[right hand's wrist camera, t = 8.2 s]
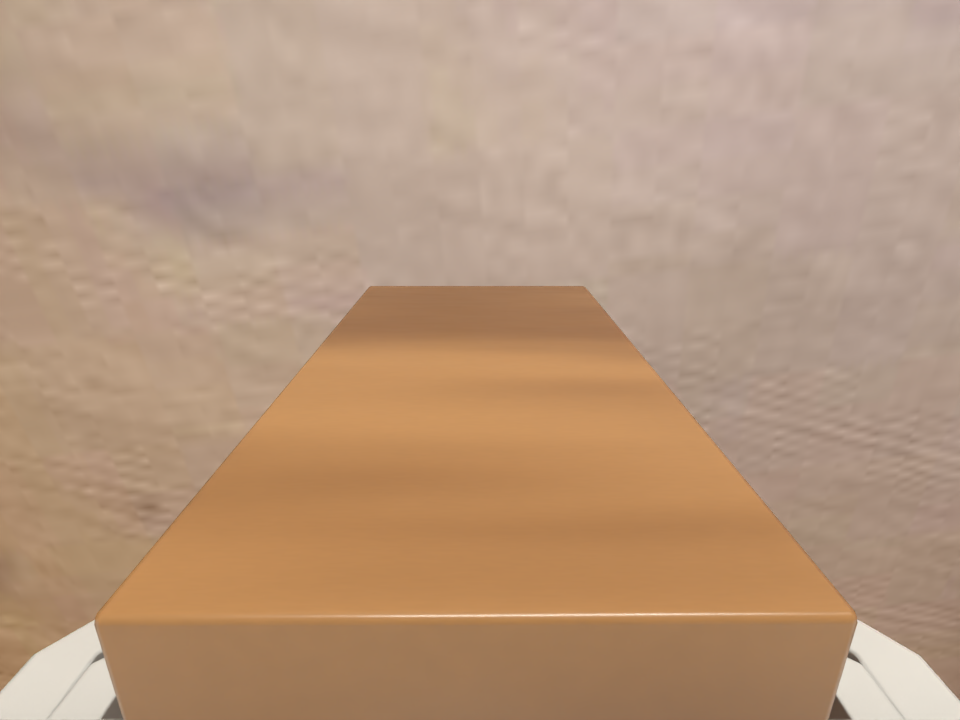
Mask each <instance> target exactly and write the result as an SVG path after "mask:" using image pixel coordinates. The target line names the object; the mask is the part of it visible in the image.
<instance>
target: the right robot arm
mask: <svg viewBox="0 0 960 720" xmlns="http://www.w3.org/2000/svg"><path fill="white" fill-rule="evenodd" d="M857 622H858V623H857V626H856V629H855V633H854V636H853V639H852V643H851V646H850V649H849V653H848V656H847V659H846V663H845V666H844V669H843V673H842V676H841V679H840V683H839V686H838V689H837V693H836V696H835V699H834V703H833V706H832V709H831V713H830V716H829V719H828V720H960V700H959V699H958V698H957V697H956V696H955V695H954V694H953V692H952V691H951V690H950V689H949V688H948V687H947V686H946V685H945V683H944V682H943V681H942V680H941V679H940V678H939V677H938V675H937V674H936V673H935V672H934V671H933V670H932V669H931V667H930V666H929V665H928V664H927V663H926V662H925V661H924V660H923V658H922V657H921V656H920V655H918V654H916V653H915V652H913V651H911V650H910V649H908V648H906V647H904V646H903V645H901V644H899V643H897V642H896V641H894V640H892V639H891V638H889V637H887V636H885V635H884V634H882V633H880V632H878V631H877V630H875V629H873V628H872V627H870V626H868V625H866V624H865V623H863V622H861V621H859V620H858V619H857ZM94 623H95V620H93V621H92V622H90V623H88V624H86V625H85V626H83V627H81V628H79V629H78V630H76V631H74V632H72V633H71V634H69V635H67V636H65V637H64V638H62V639H60V640H58V641H57V642H55V643H53V644H51V645H50V646H48V647H46V648H44V649H43V650H41V651H39V652H37V653H36V654H34V655H33V656H32V657H31V658H30V659H29V660H28V662H27V663H26V664H25V665H24V666H23V667H22V668H21V669H20V670H19V672H18V673H17V674H16V675H15V676H14V677H13V678H12V679H11V680H10V682H9V683H8V684H7V685H6V686H5V687H4V688H3V689H2V690H1V692H0V720H123V717H122V714H121V711H120V708H119V704H118V701H117V698H116V694H115V691H114V688H113V685H112V681H111V678H110V675H109V671H108V668H107V665H106V662H105V658H104V655H103V652H102V649H101V645H100V642H99V639H98V635H97V632H96V629H95V626H94Z"/></svg>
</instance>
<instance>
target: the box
mask: <svg viewBox="0 0 960 720" xmlns="http://www.w3.org/2000/svg"><path fill="white" fill-rule="evenodd" d="M857 623H858V622H857V616H856V614H855V611H854V610H853V609H852V608H851V606H850V605H849V604H848V603H847V602H846V600H845V599H844V598H843V597H842V596H841V594H840V593H839V592H838V591H837V590H836V588H835V587H834V586H833V585H832V584H831V582H830V581H829V580H828V579H827V578H826V576H825V575H824V574H823V573H822V572H821V570H820V569H819V568H818V567H817V566H816V564H815V563H814V562H813V561H812V560H811V558H810V557H809V556H808V555H807V554H806V552H805V551H804V550H803V549H802V547H801V546H800V545H799V544H798V543H797V541H796V540H795V539H794V538H793V537H792V535H791V534H790V533H789V532H788V531H787V529H786V528H785V527H784V526H783V525H782V523H781V522H780V521H779V520H778V519H777V517H776V516H775V515H774V514H773V513H772V511H771V510H770V509H769V508H768V507H767V505H766V504H765V503H764V502H763V501H762V499H761V498H760V497H759V496H758V495H757V493H756V492H755V491H754V490H753V489H752V487H751V486H750V485H749V484H748V483H747V481H746V480H745V479H744V478H743V476H742V475H741V474H740V473H739V472H738V470H737V469H736V468H735V467H734V466H733V464H732V463H731V462H730V461H729V460H728V458H727V457H726V456H725V455H724V454H723V452H722V451H721V450H720V449H719V448H718V446H717V445H716V444H715V443H714V442H713V440H712V439H711V438H710V437H709V436H708V434H707V433H706V432H705V431H704V430H703V428H702V427H701V426H700V425H699V424H698V422H697V421H696V420H695V419H694V418H693V416H692V415H691V414H690V413H689V411H688V410H687V409H686V408H685V407H684V405H683V404H682V403H681V402H680V401H679V399H678V398H677V397H676V396H675V395H674V393H673V392H672V391H671V390H670V389H669V387H668V386H667V385H666V384H665V383H664V381H663V380H662V379H661V378H660V377H659V375H658V374H657V373H656V372H655V371H654V369H653V368H652V367H651V366H650V365H649V363H648V362H647V361H646V360H645V359H644V357H643V356H642V355H641V354H640V353H639V351H638V350H637V349H636V348H635V347H634V345H633V344H632V343H631V342H630V340H629V339H628V338H627V337H626V336H625V334H624V333H623V332H622V331H621V330H620V328H619V327H618V326H617V325H616V324H615V322H614V321H613V320H612V319H611V318H610V316H609V315H608V314H607V313H606V312H605V310H604V309H603V308H602V307H601V306H600V304H599V303H598V302H597V301H596V300H595V298H594V297H593V296H592V295H591V294H590V292H589V291H588V290H587V289H586V288H585V287H584V286H371V287H369V288H368V289H367V291H366V292H365V293H364V294H363V295H362V297H361V298H360V299H359V300H358V301H357V303H356V304H355V305H354V306H353V307H352V309H351V310H350V311H349V312H348V313H347V315H346V316H345V317H344V318H343V319H342V320H341V322H340V323H339V324H338V325H337V326H336V328H335V329H334V330H333V331H332V332H331V334H330V335H329V336H328V337H327V338H326V340H325V341H324V342H323V343H322V344H321V346H320V347H319V348H318V349H317V350H316V352H315V353H314V354H313V355H312V356H311V358H310V359H309V360H308V361H307V362H306V364H305V365H304V366H303V367H302V368H301V370H300V371H299V372H298V373H297V374H296V376H295V377H294V378H293V379H292V380H291V382H290V383H289V384H288V385H287V386H286V388H285V389H284V390H283V391H282V392H281V394H280V395H279V396H278V397H277V398H276V400H275V401H274V402H273V403H272V404H271V406H270V407H269V408H268V409H267V410H266V412H265V413H264V414H263V415H262V416H261V418H260V419H259V420H258V421H257V422H256V424H255V425H254V426H253V427H252V428H251V430H250V431H249V432H248V433H247V434H246V436H245V437H244V438H243V439H242V440H241V442H240V443H239V444H238V445H237V446H236V448H235V449H234V450H233V451H232V452H231V454H230V455H229V456H228V457H227V458H226V460H225V461H224V462H223V463H222V464H221V466H220V467H219V468H218V469H217V470H216V472H215V473H214V474H213V475H212V476H211V478H210V479H209V480H208V481H207V482H206V484H205V485H204V486H203V487H202V488H201V490H200V491H199V492H198V493H197V494H196V495H195V497H194V498H193V499H192V500H191V501H190V503H189V504H188V505H187V506H186V507H185V509H184V510H183V511H182V512H181V513H180V515H179V516H178V517H177V518H176V519H175V521H174V522H173V523H172V524H171V525H170V527H169V528H168V529H167V530H166V531H165V533H164V534H163V535H162V536H161V537H160V539H159V540H158V541H157V542H156V543H155V545H154V546H153V547H152V548H151V549H150V551H149V552H148V553H147V554H146V555H145V557H144V558H143V559H142V560H141V561H140V563H139V564H138V565H137V566H136V567H135V569H134V570H133V571H132V572H131V573H130V575H129V576H128V577H127V578H126V579H125V581H124V582H123V583H122V584H121V585H120V587H119V588H118V589H117V590H116V591H115V593H114V594H113V595H112V596H111V597H110V599H109V600H108V601H107V602H106V603H105V605H104V606H103V607H102V608H101V609H100V611H99V612H98V613H97V615H96V618H95V623H94V626H95V629H96V632H97V635H98V639H99V642H100V645H101V649H102V652H103V655H104V658H105V662H106V665H107V668H108V671H109V675H110V678H111V681H112V685H113V688H114V691H115V694H116V698H117V701H118V704H119V708H120V711H121V714H122V717H123V720H828V719H829V716H830V713H831V709H832V706H833V703H834V699H835V696H836V693H837V689H838V686H839V683H840V679H841V676H842V673H843V669H844V666H845V663H846V659H847V656H848V653H849V649H850V646H851V643H852V639H853V636H854V633H855V629H856V626H857Z"/></svg>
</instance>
